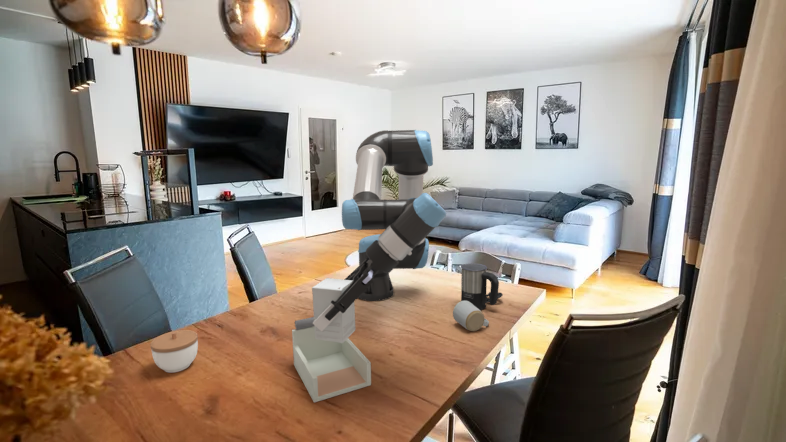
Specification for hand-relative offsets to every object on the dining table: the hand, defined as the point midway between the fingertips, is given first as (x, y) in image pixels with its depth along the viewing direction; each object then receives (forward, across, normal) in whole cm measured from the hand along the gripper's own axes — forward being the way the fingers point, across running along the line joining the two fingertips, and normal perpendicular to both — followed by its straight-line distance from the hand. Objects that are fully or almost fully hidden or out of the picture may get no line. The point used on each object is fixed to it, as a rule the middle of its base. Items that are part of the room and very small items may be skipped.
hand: (321, 317), depth 91 cm
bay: (+11, +4, -13) cm, 17 cm away
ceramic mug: (-18, +31, -42) cm, 55 cm away
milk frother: (-23, +50, -48) cm, 72 cm away
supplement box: (+1, 0, -6) cm, 6 cm away
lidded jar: (+40, +9, +16) cm, 44 cm away
